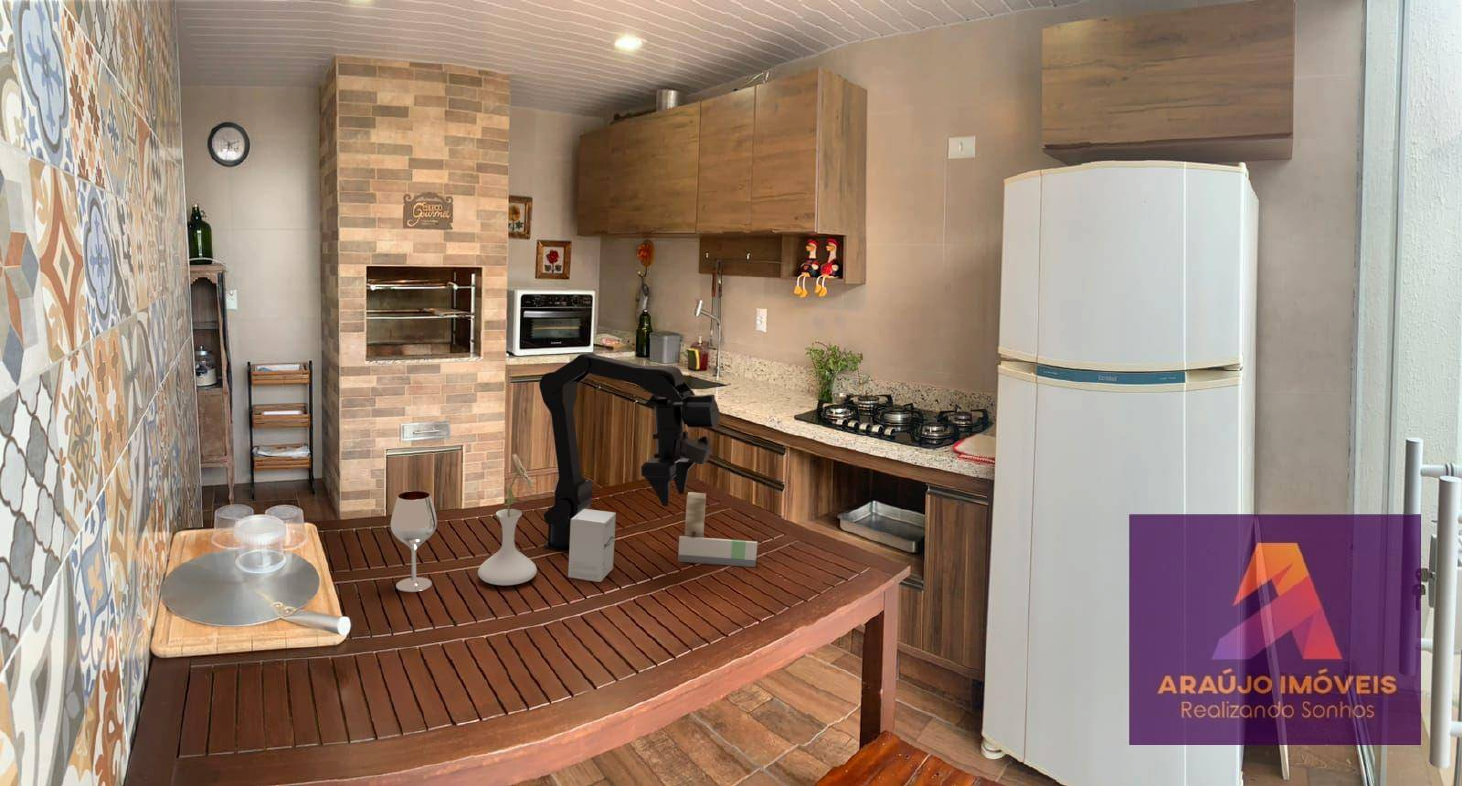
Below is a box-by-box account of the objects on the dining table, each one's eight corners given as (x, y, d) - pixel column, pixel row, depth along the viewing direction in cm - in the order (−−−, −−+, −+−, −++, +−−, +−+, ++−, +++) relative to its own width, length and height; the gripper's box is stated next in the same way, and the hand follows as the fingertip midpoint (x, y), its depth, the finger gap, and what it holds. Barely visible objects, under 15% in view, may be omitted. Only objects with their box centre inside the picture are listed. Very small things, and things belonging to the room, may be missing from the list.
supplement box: (601, 583, 162) (604, 523, 160) (567, 577, 163) (569, 518, 161) (614, 569, 169) (617, 512, 167) (580, 564, 170) (583, 507, 168)
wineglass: (392, 596, 149) (392, 503, 146) (388, 579, 156) (388, 490, 153) (439, 591, 153) (440, 500, 150) (433, 574, 160) (434, 487, 157)
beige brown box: (680, 554, 175) (684, 500, 173) (682, 543, 182) (686, 491, 179) (703, 555, 175) (707, 502, 173) (704, 545, 182) (708, 493, 179)
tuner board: (677, 561, 176) (679, 537, 175) (680, 548, 184) (682, 525, 183) (755, 567, 176) (757, 543, 175) (754, 553, 184) (756, 530, 183)
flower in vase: (528, 593, 155) (532, 467, 151) (469, 588, 155) (471, 463, 151) (544, 567, 168) (548, 450, 163) (490, 562, 168) (492, 446, 163)
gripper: (690, 436, 157) (694, 514, 159) (720, 419, 174) (723, 489, 176) (637, 435, 160) (642, 512, 162) (672, 419, 178) (676, 488, 180)
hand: (673, 499), depth 170 cm, fingers open, 9 cm apart
